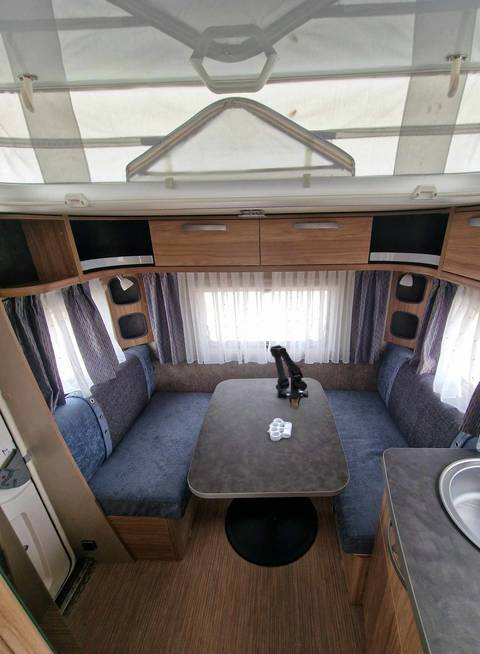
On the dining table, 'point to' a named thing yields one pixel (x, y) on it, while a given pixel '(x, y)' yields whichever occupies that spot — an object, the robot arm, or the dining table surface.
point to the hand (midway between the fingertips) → (294, 403)
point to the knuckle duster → (279, 429)
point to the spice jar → (294, 403)
